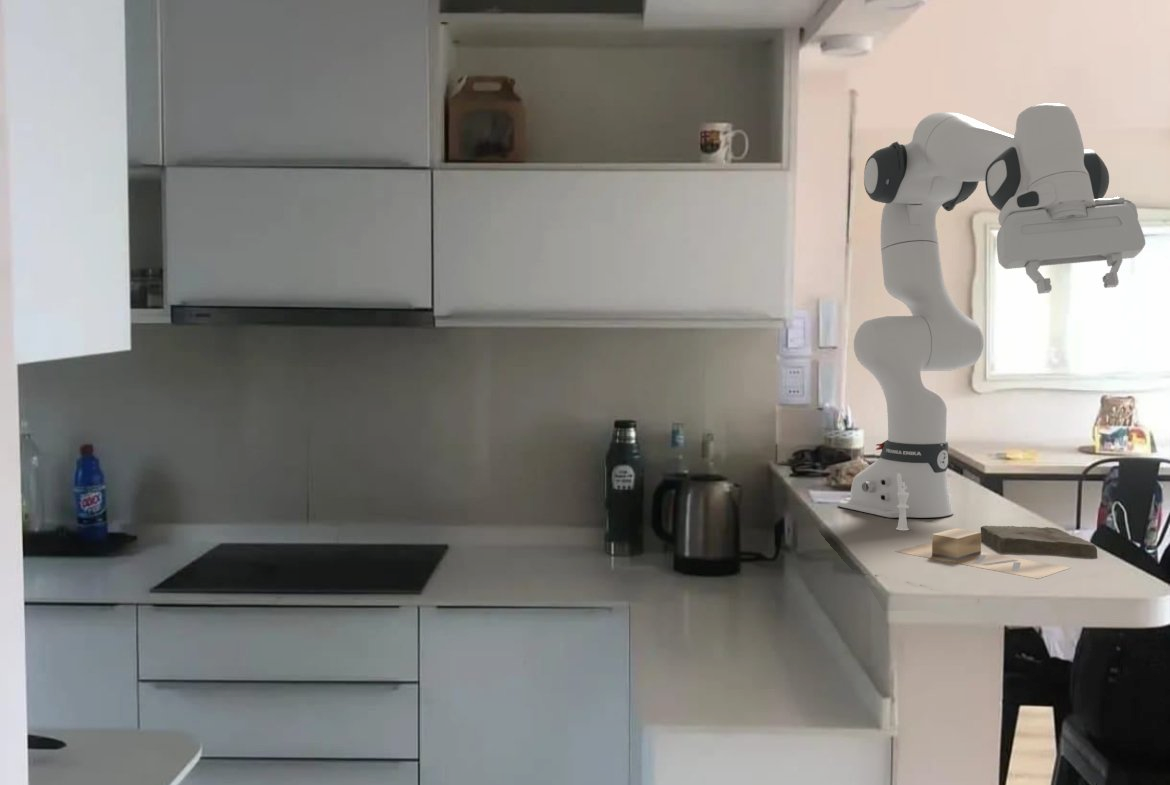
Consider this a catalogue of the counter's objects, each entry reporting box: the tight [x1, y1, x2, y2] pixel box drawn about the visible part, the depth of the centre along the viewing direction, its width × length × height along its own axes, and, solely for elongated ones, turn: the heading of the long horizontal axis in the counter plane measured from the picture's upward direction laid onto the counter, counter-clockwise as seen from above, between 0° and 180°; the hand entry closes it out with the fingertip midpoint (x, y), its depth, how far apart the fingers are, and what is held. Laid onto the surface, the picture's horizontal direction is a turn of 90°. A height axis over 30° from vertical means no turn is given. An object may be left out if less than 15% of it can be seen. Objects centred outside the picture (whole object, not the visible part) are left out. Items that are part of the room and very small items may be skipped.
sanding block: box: [931, 528, 982, 561], centre depth 174 cm, size 4×7×4 cm, turn 131°
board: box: [894, 542, 1070, 580], centre depth 171 cm, size 24×10×2 cm, turn 41°
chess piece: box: [895, 482, 910, 532], centre depth 194 cm, size 5×5×10 cm
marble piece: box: [980, 525, 1098, 559], centre depth 181 cm, size 17×15×4 cm
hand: (1078, 289), depth 160 cm, fingers open, 8 cm apart
